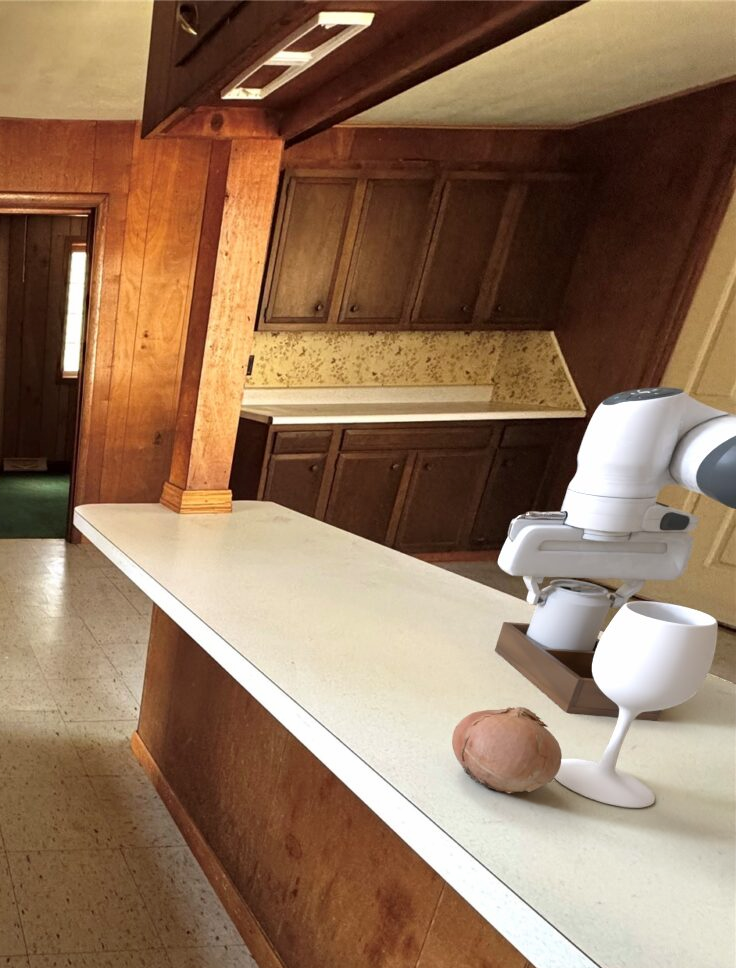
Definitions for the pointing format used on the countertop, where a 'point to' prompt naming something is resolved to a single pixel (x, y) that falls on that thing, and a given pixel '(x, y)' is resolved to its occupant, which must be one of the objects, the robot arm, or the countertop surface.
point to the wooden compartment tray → (559, 673)
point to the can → (569, 615)
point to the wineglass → (642, 686)
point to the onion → (507, 749)
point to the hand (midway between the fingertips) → (573, 605)
